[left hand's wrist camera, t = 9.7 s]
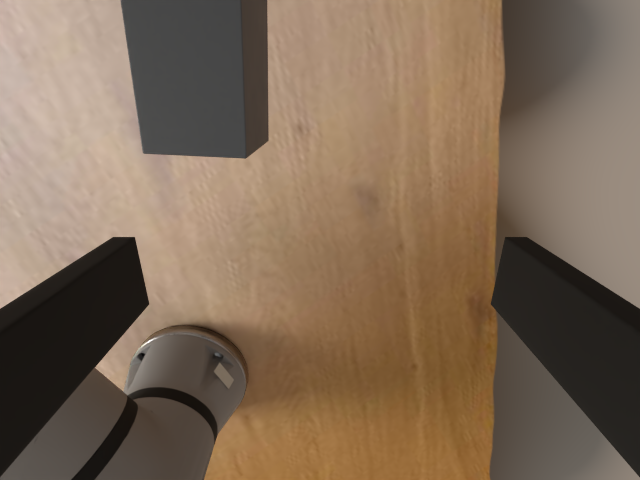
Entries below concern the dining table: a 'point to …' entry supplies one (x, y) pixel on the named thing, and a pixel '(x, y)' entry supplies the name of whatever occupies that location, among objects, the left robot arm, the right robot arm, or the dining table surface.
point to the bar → (199, 75)
